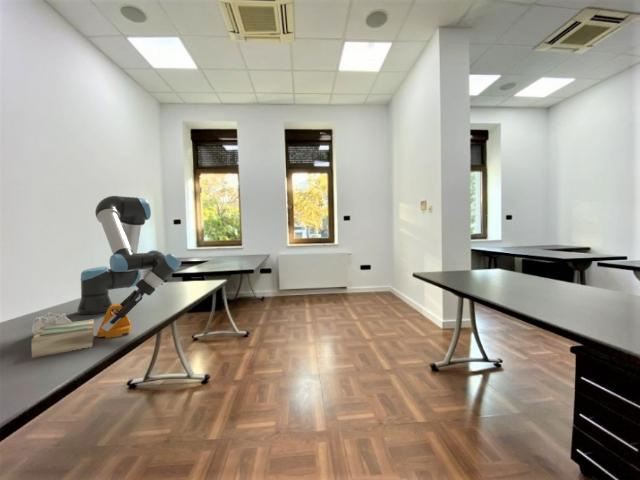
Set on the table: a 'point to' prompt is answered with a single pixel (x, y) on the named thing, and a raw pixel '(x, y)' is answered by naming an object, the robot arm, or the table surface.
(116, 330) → the bracket
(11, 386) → the table surface
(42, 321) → the white bone skull
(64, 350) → the riser stand
